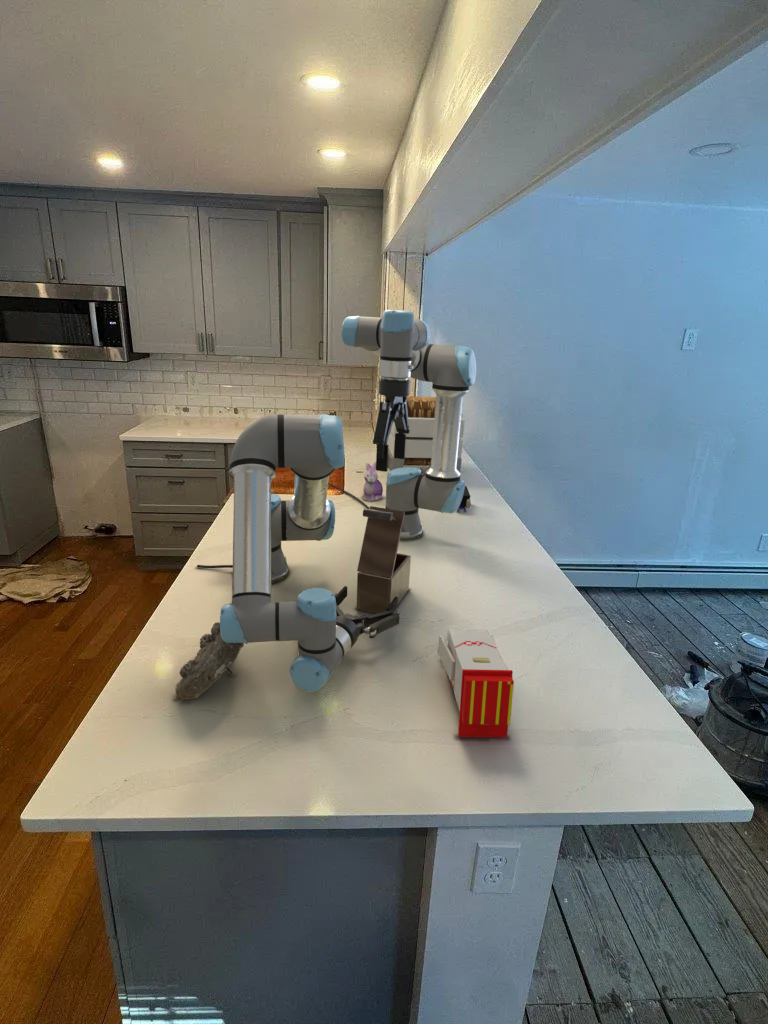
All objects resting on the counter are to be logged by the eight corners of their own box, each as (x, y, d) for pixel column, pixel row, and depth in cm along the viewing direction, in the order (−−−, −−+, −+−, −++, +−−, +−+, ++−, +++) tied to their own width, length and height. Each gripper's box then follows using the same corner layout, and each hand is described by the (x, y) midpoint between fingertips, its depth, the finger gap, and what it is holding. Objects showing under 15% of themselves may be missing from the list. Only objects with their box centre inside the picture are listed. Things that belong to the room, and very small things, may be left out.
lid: (371, 506, 148) (361, 500, 140) (405, 512, 145) (396, 506, 137) (358, 571, 146) (347, 569, 138) (392, 578, 143) (382, 576, 135)
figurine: (367, 502, 230) (368, 467, 225) (357, 495, 238) (358, 460, 233) (388, 500, 234) (389, 465, 229) (377, 492, 242) (378, 458, 237)
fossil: (197, 625, 130) (244, 594, 125) (226, 653, 133) (272, 624, 128) (153, 694, 111) (206, 661, 106) (188, 725, 114) (241, 695, 109)
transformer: (382, 463, 289) (386, 382, 275) (445, 464, 293) (451, 384, 279) (390, 482, 257) (394, 392, 243) (460, 483, 261) (468, 394, 247)
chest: (378, 582, 164) (379, 549, 160) (408, 589, 161) (411, 555, 157) (356, 609, 149) (357, 573, 145) (389, 616, 146) (391, 580, 143)
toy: (488, 613, 130) (523, 677, 101) (484, 667, 133) (517, 744, 104) (435, 612, 130) (455, 676, 101) (432, 666, 133) (451, 743, 103)
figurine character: (470, 516, 223) (465, 500, 237) (473, 499, 220) (467, 484, 233) (453, 516, 223) (449, 500, 236) (455, 498, 220) (451, 483, 233)
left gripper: (286, 641, 129) (325, 599, 148) (389, 666, 121) (417, 619, 140) (285, 612, 126) (325, 573, 145) (391, 636, 119) (419, 592, 138)
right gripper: (392, 385, 123) (388, 478, 131) (424, 374, 146) (419, 455, 153) (360, 382, 126) (358, 474, 133) (396, 372, 148) (392, 451, 155)
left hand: (370, 596), depth 143 cm, fingers open, 13 cm apart
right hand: (390, 464), depth 143 cm, fingers open, 13 cm apart
